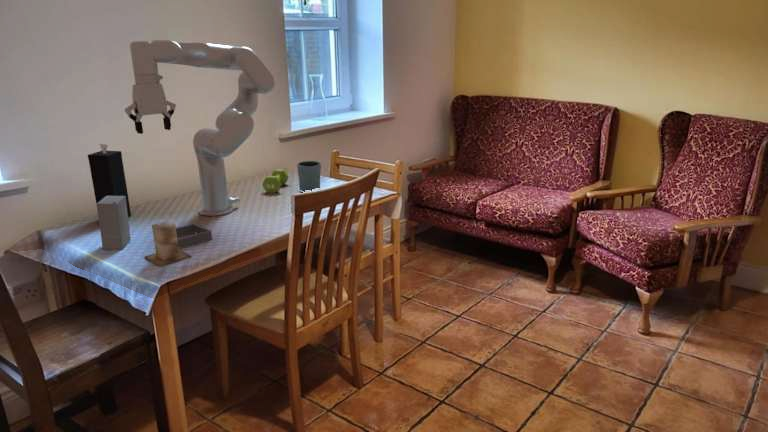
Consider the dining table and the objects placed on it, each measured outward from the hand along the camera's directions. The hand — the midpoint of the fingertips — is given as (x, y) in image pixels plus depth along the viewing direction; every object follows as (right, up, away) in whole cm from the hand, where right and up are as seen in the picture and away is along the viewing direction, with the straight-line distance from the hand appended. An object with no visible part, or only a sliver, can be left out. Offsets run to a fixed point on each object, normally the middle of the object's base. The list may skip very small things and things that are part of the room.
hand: (154, 131), depth 194 cm
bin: (+13, -37, -6) cm, 39 cm away
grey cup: (+47, -18, +51) cm, 71 cm away
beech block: (+12, -41, -21) cm, 47 cm away
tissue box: (-21, -30, +17) cm, 40 cm away
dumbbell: (+31, -17, +55) cm, 66 cm away
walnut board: (+12, -41, -20) cm, 48 cm away
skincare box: (-8, -39, -10) cm, 41 cm away
